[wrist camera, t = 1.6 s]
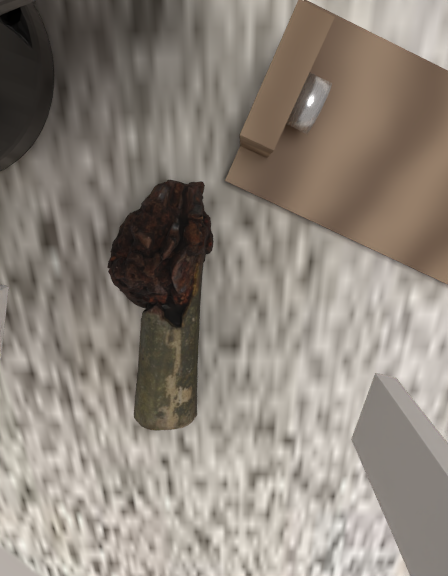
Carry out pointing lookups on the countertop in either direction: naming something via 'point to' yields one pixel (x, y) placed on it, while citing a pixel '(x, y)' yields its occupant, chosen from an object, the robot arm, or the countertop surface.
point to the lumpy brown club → (165, 298)
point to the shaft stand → (352, 139)
